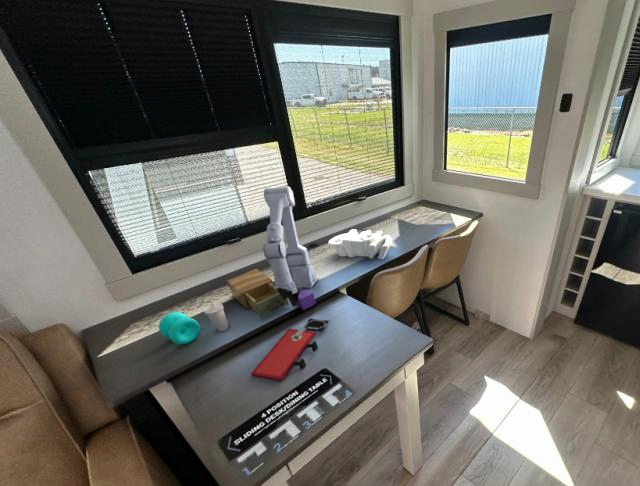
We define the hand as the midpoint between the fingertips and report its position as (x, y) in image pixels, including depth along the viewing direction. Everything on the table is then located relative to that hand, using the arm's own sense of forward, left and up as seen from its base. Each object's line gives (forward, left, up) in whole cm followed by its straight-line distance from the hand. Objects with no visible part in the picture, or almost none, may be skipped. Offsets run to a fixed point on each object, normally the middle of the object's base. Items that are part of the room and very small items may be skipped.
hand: (290, 302), depth 126 cm
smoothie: (+24, +13, -5) cm, 27 cm away
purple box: (-4, -5, -5) cm, 8 cm away
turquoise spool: (+35, +20, -5) cm, 40 cm away
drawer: (+11, -2, -4) cm, 12 cm away
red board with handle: (-11, +20, -5) cm, 24 cm away
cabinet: (+24, -10, -5) cm, 26 cm away
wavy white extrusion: (-15, -55, -5) cm, 57 cm away
